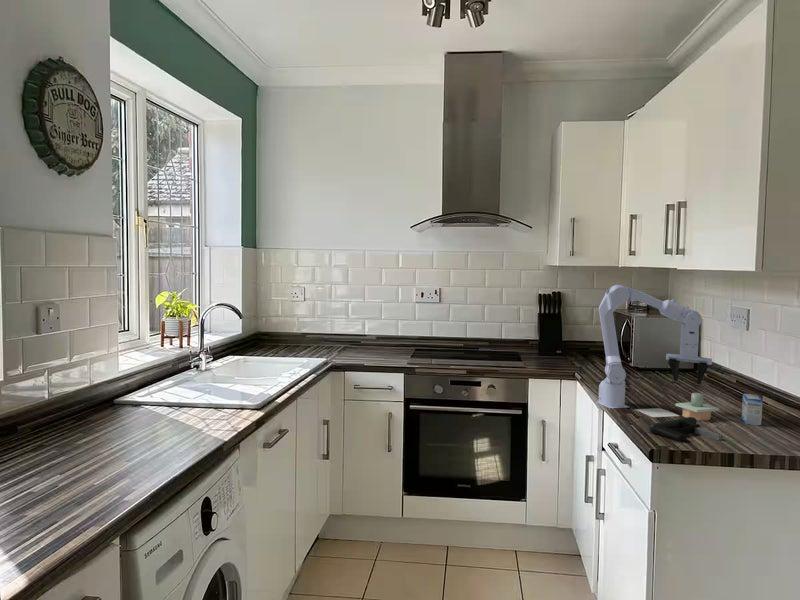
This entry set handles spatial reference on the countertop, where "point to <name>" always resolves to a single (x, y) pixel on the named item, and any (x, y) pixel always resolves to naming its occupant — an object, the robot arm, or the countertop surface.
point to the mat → (656, 412)
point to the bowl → (697, 414)
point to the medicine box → (751, 409)
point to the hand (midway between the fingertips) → (687, 382)
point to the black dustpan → (681, 429)
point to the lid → (697, 404)
